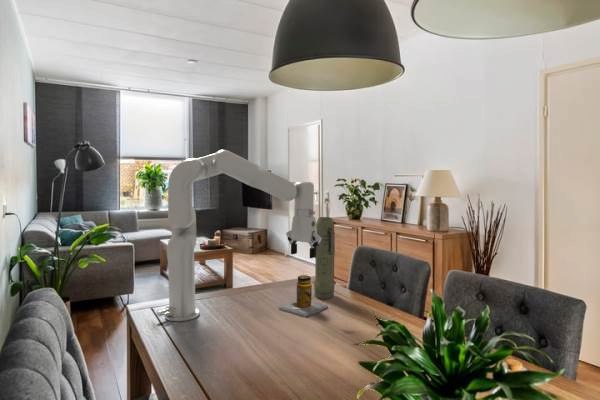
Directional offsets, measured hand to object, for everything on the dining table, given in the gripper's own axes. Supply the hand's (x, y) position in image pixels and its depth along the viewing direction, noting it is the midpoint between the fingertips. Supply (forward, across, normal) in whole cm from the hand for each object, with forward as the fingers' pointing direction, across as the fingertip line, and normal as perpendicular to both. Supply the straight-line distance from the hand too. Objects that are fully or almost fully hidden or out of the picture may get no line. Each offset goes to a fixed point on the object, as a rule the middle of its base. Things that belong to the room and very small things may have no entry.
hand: (303, 255), depth 153 cm
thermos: (+22, +3, -18) cm, 29 cm away
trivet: (+22, 0, 0) cm, 22 cm away
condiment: (+21, 0, 0) cm, 21 cm away
